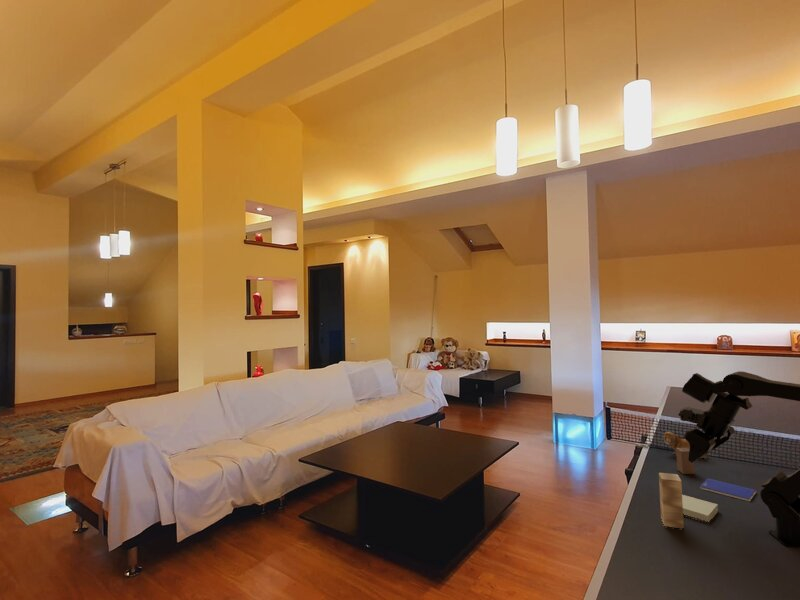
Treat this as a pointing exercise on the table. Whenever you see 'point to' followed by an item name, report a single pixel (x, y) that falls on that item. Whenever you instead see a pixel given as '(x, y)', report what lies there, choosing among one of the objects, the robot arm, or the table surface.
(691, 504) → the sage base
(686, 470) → the wooden block
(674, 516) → the maple post
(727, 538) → the table surface
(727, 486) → the hard drive
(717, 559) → the table surface
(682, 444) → the lion figurine
